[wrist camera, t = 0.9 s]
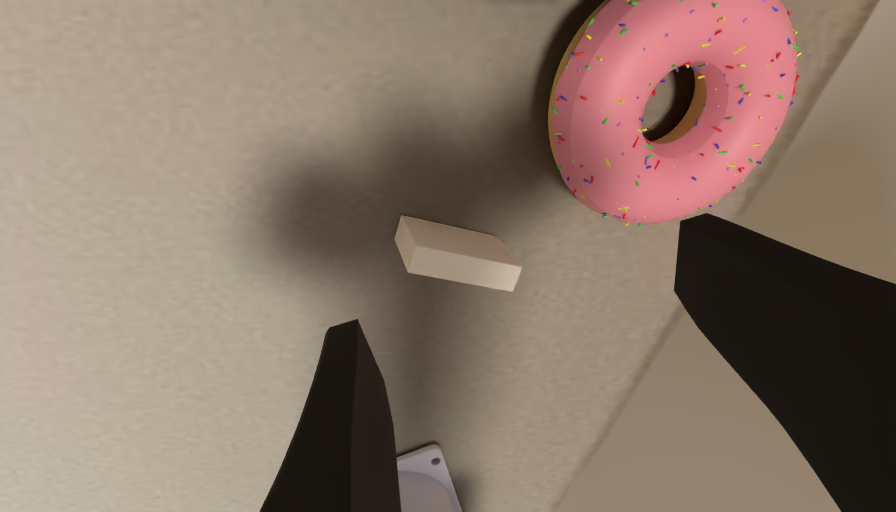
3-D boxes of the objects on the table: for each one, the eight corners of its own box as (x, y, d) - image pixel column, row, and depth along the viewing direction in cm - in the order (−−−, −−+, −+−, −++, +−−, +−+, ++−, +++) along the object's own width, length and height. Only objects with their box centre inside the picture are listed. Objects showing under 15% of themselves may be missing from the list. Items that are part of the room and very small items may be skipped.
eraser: (487, 258, 26) (513, 292, 23) (393, 239, 25) (407, 272, 21) (496, 235, 26) (523, 266, 23) (401, 214, 24) (415, 244, 21)
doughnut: (736, 168, 28) (800, 201, 24) (542, 229, 27) (581, 272, 23) (765, -70, 22) (856, -72, 18) (518, -7, 21) (565, 3, 17)
